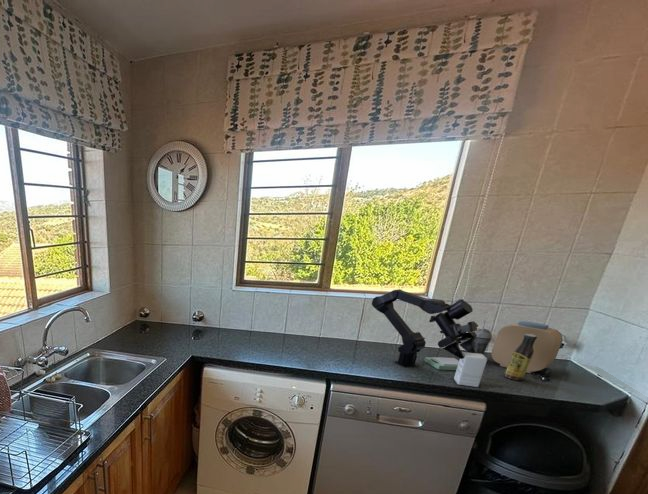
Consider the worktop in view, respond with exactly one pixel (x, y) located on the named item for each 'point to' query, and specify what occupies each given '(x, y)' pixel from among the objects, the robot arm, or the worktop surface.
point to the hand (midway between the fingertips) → (468, 356)
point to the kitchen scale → (442, 363)
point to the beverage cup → (482, 340)
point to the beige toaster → (543, 345)
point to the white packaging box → (470, 369)
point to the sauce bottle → (521, 358)
